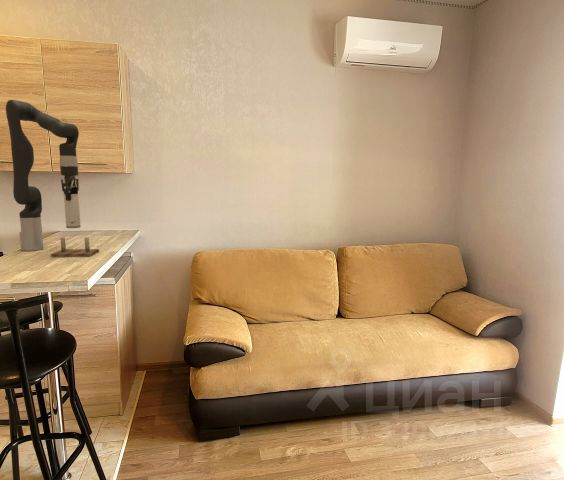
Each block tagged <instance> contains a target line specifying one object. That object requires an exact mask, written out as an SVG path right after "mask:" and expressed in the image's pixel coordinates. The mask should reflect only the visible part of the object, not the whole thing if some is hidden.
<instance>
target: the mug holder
mask: <svg viewBox="0 0 564 480" xmlns="http://www.w3.org/2000/svg"><path fill="white" fill-rule="evenodd" d="M59 240H60V249H59V250H58V251H55V252H53V253H51V254H50V258H83V257H85V258H87V257H88V258H89V257H92V256H95V255H96V254H98V253H100V249H99V248H91V247H90V237H87V236H85V237H84V248H80V249H79V248H75V249H74V248H71V249H70V248H69V249H67V247H66V237H60V239H59Z"/></svg>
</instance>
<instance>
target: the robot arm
mask: <svg viewBox="0 0 564 480" xmlns="http://www.w3.org/2000/svg"><path fill="white" fill-rule="evenodd" d="M5 114H6V119H7V123H8V124H7V125H8V128H9V129H8V130H9V136H10V150H11V159H12V169H13V170H12V171H13V187H12V188H13V189H12V190H13V199H14V201H15V202H16V203H17V204H18V205H22V206H23V205H24V208H23V209H22V210H21V211H19V214H18V215H19V221H20V222H19V223H20V232H19V233H18V234H19V244H20V251H24V252H31V251H34V252H35V251H40V250H43V249H44V248H45V247H44V238H43V237H44V236H43V228H42V227H43V226H42V216H41V215H42V214H41V213H42V211H43V205H42V202H43V201H42V194H41V191H40V189H39V188H38V187H36V186H29V175H30V172H31V171H32V168H33V166H34V162H35V155H34V148H33V147H34V146H33V145H32V143H31V141H30V140H29V139H28V137H27V136H26V134H25V133H24V131H23V129H22V128H23V127H22V125H21V121H22V122H32V123H35V124H37V125H39V127H40V128H42V129H45V130H46V131H47V132H48V131H49V132H51V133H52V134H53V135H54V136H55V137H58V138H61V139H62V138H63V139H66V140H65V142H63V143H60V144H59V145H58V149H59V168H60V169H59V170H60V175H61V176H64V178H60V182H61V189H62V190H61V191H62V192H63V194H64V193H65V197H66V201H71V193H70V192H71V189H72V188H74V187H78V192H79V191H80V190H79V189H80V185H79V178H76V177H77V176H79V163H78V158H77V144H78V139H79V135H80V132H79V129H78V126H77V125H75V124H74V123H68V122H63V121H61V120H60V119H59V118H57V117H54V116H51V115H49V114H46V113H44V112H43V111H41V110H40V109H38V108H37V107H36V106H33V105H32V104H31V103H28V102H26V101H21V100H16V99H9V100H7V102H6V104H5Z"/></svg>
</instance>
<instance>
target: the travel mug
mask: <svg viewBox="0 0 564 480" xmlns="http://www.w3.org/2000/svg"><path fill="white" fill-rule="evenodd" d="M78 192H79V191H78V187H74V188H72V189H71V192H70V193H71V201H66V197H65V193H64V192H63V202H64V215H65V228H66V229H80V228H81V214H80V201H79V193H78Z"/></svg>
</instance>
